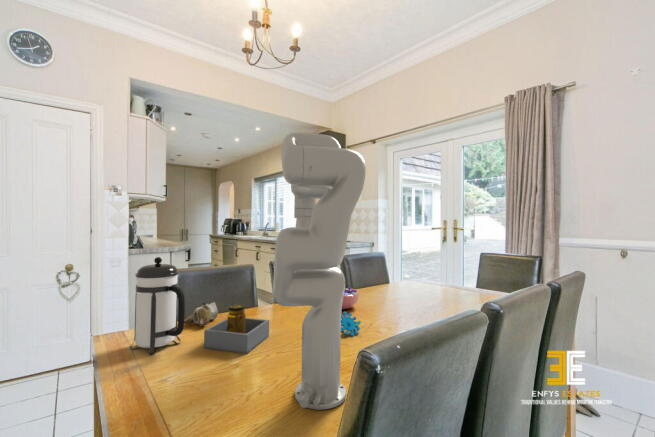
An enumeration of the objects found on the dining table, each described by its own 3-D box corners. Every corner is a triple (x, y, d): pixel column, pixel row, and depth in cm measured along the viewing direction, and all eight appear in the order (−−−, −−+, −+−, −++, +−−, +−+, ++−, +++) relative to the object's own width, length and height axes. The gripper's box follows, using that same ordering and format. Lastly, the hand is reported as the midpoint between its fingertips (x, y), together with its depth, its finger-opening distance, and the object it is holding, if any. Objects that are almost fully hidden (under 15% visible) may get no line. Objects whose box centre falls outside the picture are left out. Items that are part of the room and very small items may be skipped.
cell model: (365, 306, 157) (365, 284, 157) (347, 315, 140) (347, 291, 140) (337, 301, 166) (337, 280, 166) (316, 309, 149) (317, 286, 149)
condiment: (222, 340, 107) (223, 306, 107) (243, 334, 113) (244, 301, 113) (233, 346, 102) (233, 310, 102) (254, 339, 108) (255, 305, 108)
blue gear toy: (342, 334, 111) (335, 310, 118) (335, 342, 114) (328, 318, 121) (366, 334, 116) (358, 310, 123) (359, 341, 119) (351, 318, 126)
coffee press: (120, 359, 92) (123, 260, 93) (138, 340, 108) (140, 255, 108) (183, 353, 97) (185, 259, 97) (191, 335, 112) (193, 254, 113)
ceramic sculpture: (224, 299, 132) (201, 310, 118) (225, 318, 132) (202, 332, 118) (204, 297, 135) (178, 308, 121) (204, 316, 135) (179, 329, 121)
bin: (247, 354, 97) (247, 335, 97) (203, 348, 101) (204, 330, 101) (269, 336, 113) (269, 320, 113) (230, 331, 117) (231, 316, 117)
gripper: (290, 214, 115) (290, 259, 115) (298, 213, 99) (297, 265, 98) (310, 215, 117) (309, 259, 117) (321, 213, 101) (320, 265, 100)
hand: (304, 262), depth 108 cm, fingers open, 9 cm apart
